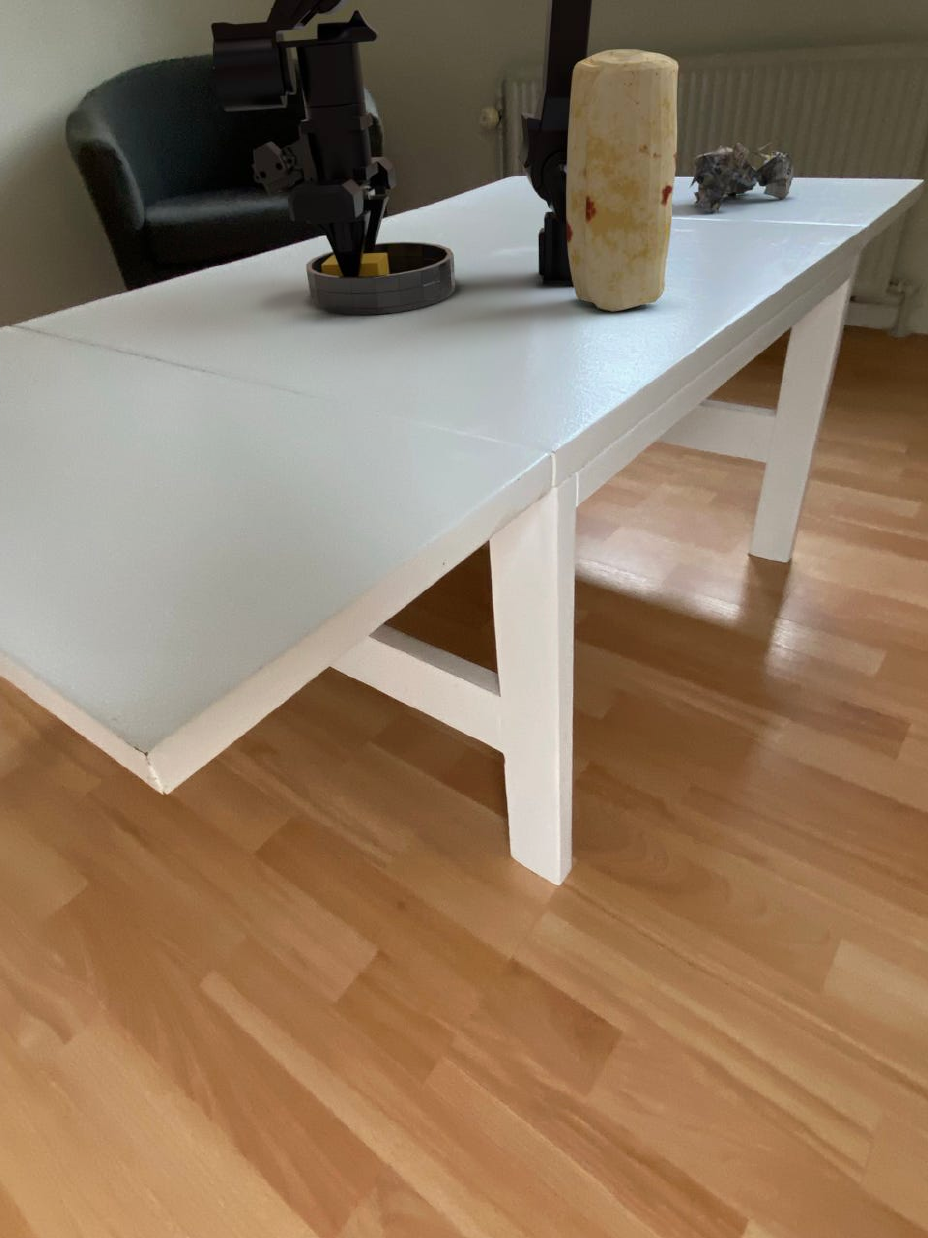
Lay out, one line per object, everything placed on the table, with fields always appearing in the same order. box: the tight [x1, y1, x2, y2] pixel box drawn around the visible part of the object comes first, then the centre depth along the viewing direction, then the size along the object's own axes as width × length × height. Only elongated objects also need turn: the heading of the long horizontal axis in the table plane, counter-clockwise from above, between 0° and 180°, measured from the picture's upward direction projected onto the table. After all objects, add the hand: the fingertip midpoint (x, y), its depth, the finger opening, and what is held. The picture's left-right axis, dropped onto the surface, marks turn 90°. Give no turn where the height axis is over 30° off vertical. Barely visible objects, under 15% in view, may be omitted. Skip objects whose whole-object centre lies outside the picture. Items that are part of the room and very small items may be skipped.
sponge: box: [321, 253, 389, 277], centre depth 85 cm, size 6×4×3 cm
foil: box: [689, 141, 795, 214], centre depth 111 cm, size 12×11×15 cm
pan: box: [305, 241, 456, 316], centre depth 85 cm, size 15×15×4 cm
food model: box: [566, 48, 680, 313], centre depth 72 cm, size 10×7×20 cm
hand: (357, 278), depth 86 cm, fingers closed on sponge, 4 cm apart
